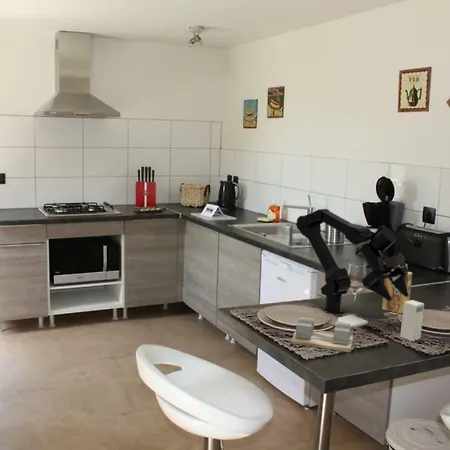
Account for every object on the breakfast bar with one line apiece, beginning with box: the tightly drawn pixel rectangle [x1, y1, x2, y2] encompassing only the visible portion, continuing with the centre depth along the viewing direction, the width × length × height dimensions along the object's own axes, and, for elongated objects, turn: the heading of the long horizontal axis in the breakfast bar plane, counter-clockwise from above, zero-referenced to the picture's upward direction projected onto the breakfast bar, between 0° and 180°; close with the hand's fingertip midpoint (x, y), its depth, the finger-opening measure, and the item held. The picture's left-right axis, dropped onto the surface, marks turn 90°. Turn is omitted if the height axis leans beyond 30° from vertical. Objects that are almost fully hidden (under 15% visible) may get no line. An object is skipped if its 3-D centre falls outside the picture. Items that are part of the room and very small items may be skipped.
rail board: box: [290, 316, 354, 353], centre depth 185 cm, size 13×18×5 cm
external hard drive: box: [337, 314, 369, 328], centre depth 203 cm, size 2×8×12 cm
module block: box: [399, 299, 425, 342], centre depth 190 cm, size 5×4×12 cm
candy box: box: [381, 268, 413, 314], centre depth 218 cm, size 9×4×15 cm, turn 54°
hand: (398, 298), depth 194 cm, fingers open, 9 cm apart
